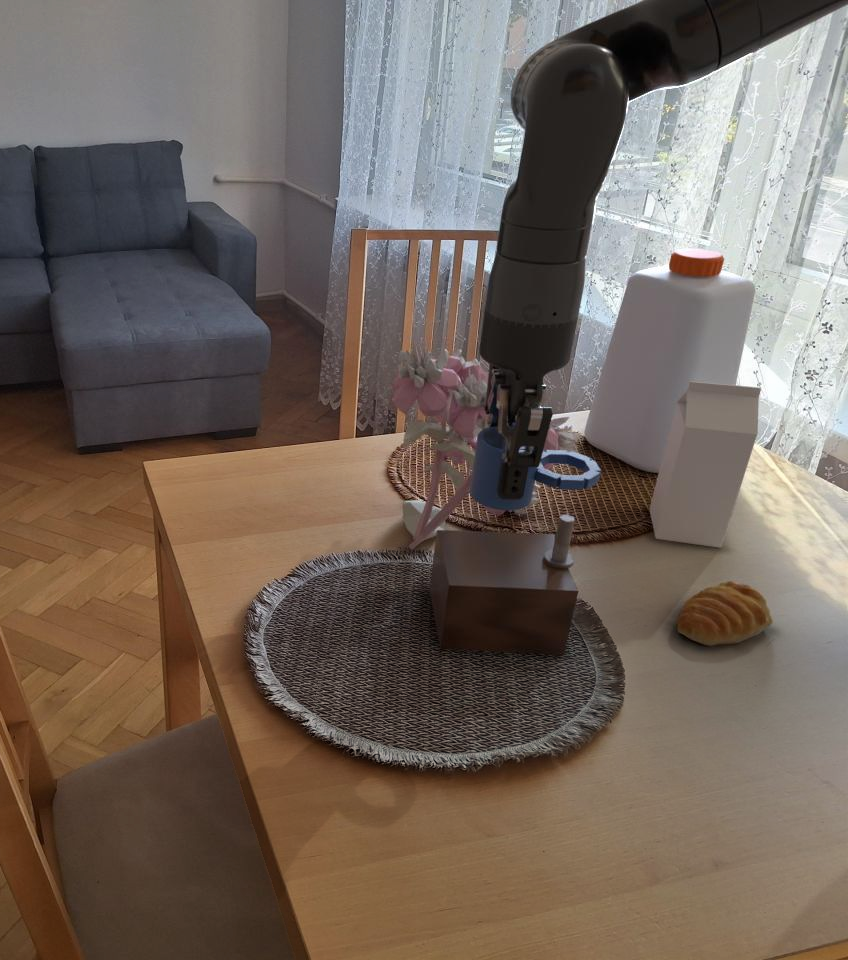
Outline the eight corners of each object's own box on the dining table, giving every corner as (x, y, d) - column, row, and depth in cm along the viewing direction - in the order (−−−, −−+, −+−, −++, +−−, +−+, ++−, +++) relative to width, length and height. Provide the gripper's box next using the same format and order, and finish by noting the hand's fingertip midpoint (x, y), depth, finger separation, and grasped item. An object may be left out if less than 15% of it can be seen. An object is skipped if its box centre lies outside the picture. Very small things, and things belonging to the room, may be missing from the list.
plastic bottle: (655, 482, 115) (709, 275, 101) (569, 438, 127) (607, 247, 113) (733, 458, 120) (794, 258, 106) (644, 418, 132) (689, 233, 118)
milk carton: (721, 549, 101) (768, 400, 91) (654, 539, 103) (694, 393, 93) (711, 518, 106) (754, 376, 97) (648, 510, 109) (685, 370, 99)
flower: (561, 595, 91) (620, 363, 89) (352, 544, 96) (402, 324, 94) (538, 567, 111) (585, 376, 108) (365, 526, 116) (407, 344, 113)
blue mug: (581, 482, 83) (594, 426, 80) (600, 514, 78) (614, 455, 75) (464, 479, 84) (472, 423, 81) (475, 510, 79) (484, 452, 76)
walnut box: (548, 595, 94) (569, 492, 87) (571, 656, 85) (596, 547, 79) (429, 590, 95) (441, 488, 89) (440, 649, 86) (454, 541, 80)
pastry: (718, 662, 84) (728, 631, 82) (655, 625, 89) (664, 595, 87) (774, 630, 88) (784, 599, 86) (711, 596, 93) (720, 567, 91)
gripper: (603, 336, 66) (563, 522, 74) (556, 282, 78) (526, 447, 87) (502, 334, 67) (474, 519, 75) (472, 282, 79) (450, 445, 87)
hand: (502, 480), depth 81 cm, fingers closed on blue mug, 5 cm apart
